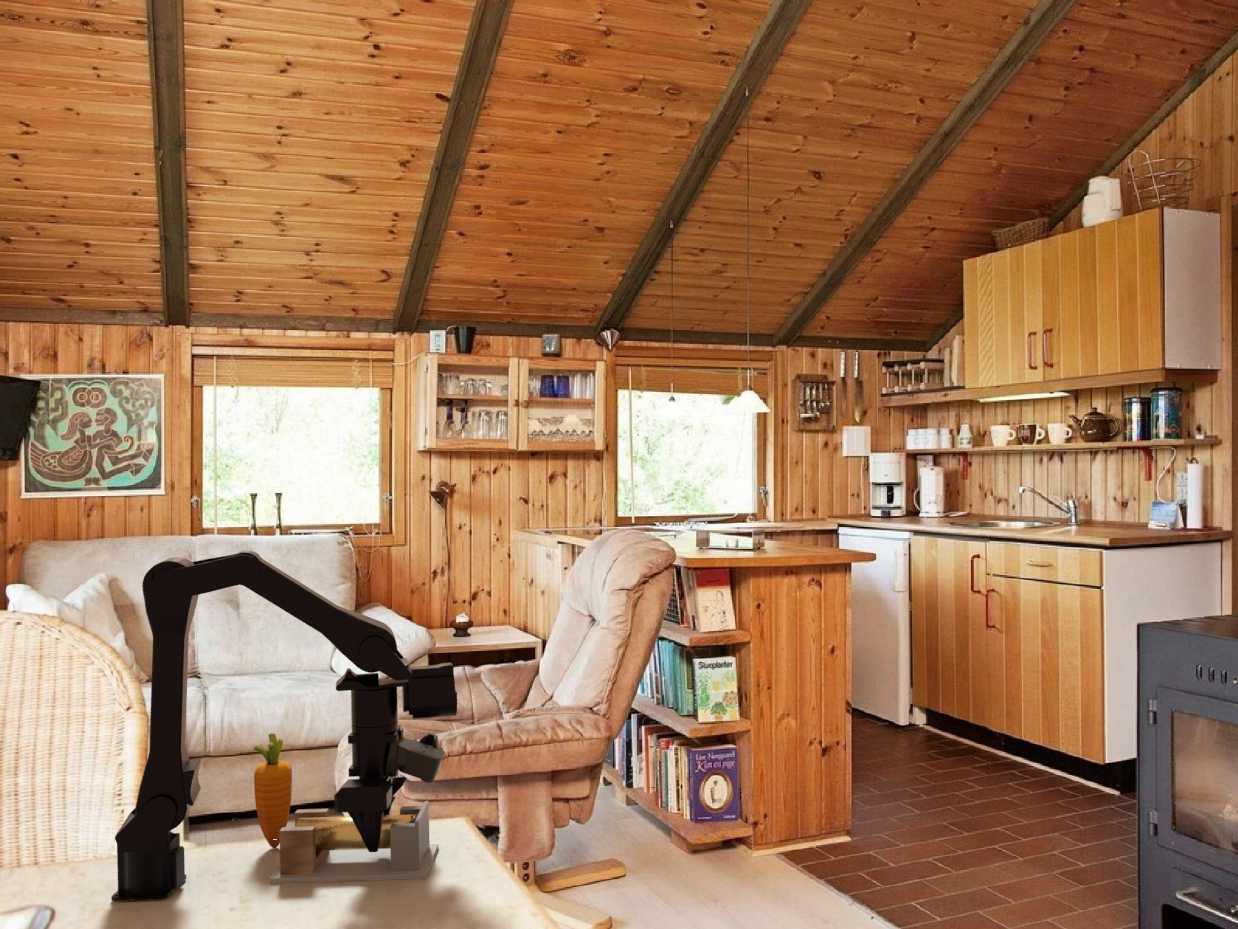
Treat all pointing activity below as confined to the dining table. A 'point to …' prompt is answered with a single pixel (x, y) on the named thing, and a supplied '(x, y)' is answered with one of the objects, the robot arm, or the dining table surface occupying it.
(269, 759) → the carrot
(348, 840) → the tube
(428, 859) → the board
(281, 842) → the wooden u-shaped cradle
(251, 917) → the dining table surface
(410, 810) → the socket
